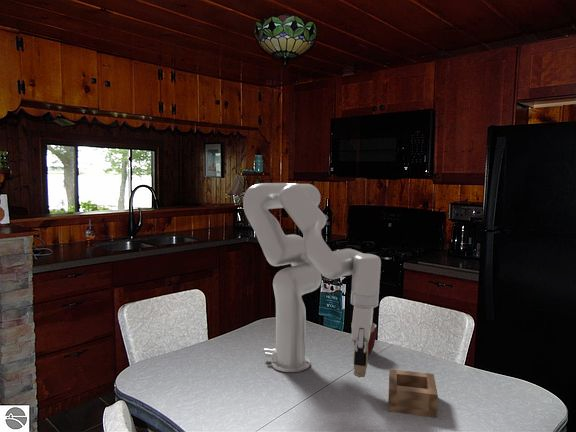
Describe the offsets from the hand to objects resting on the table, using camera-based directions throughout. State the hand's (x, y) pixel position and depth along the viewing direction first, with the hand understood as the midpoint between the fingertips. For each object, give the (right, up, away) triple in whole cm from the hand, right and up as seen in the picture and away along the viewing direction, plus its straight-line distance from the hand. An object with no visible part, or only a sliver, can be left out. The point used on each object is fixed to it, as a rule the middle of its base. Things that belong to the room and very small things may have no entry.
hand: (360, 360), depth 124 cm
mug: (+6, -6, +28) cm, 29 cm away
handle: (0, -5, +1) cm, 5 cm away
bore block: (+13, -9, -6) cm, 17 cm away
